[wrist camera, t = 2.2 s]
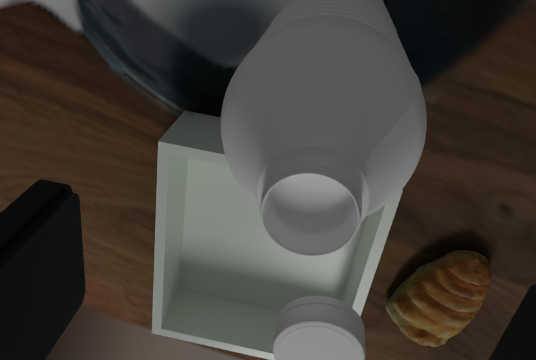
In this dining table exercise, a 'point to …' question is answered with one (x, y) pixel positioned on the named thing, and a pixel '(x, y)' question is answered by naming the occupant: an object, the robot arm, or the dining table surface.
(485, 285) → the pastry
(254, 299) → the bin
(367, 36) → the water bottle
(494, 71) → the dining table surface
